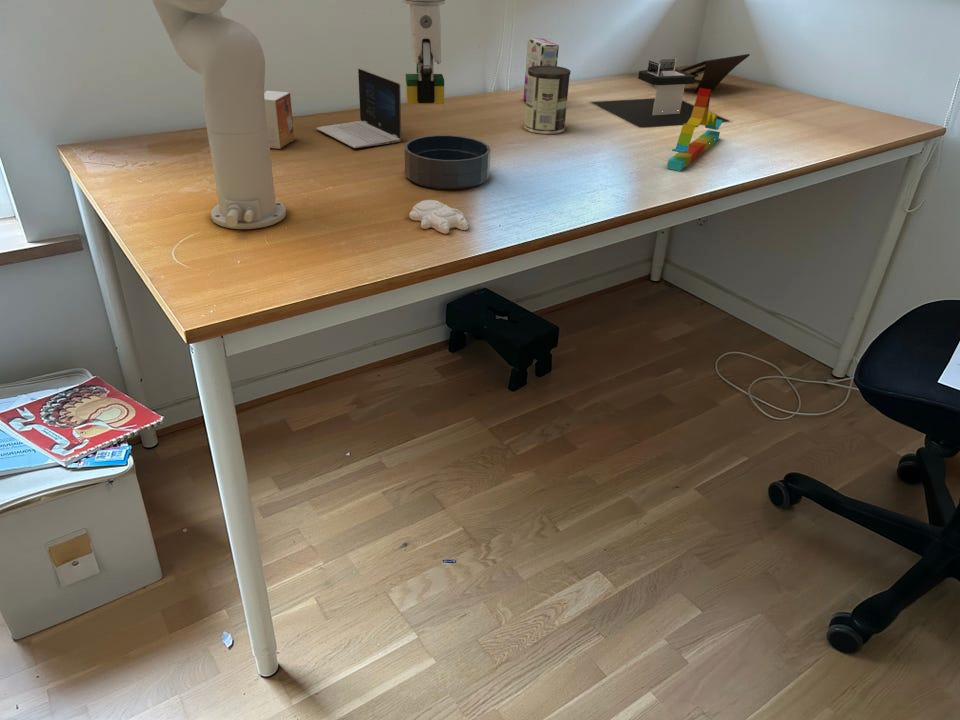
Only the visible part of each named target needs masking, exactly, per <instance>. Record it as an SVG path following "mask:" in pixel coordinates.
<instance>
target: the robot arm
mask: <svg viewBox="0 0 960 720" xmlns="http://www.w3.org/2000/svg"><path fill="white" fill-rule="evenodd" d="M151 1H152V3H153V5H154V7H155V9H156V12H157V14H158V16H159V19H160V21H161V23H162V26H163V27H164V29H165V32H166V34H167V36H168V37H169V40H170V42H171V45H172V46H173V48H174V50H175V51H176V53H177V55H178V56H179V58H180V59H181V61H182V62H183V63H184V64H185V65H186V66H187V67H189V68H190V69H191V70H192V71H194V72H196V73H197V74H199V75H202V79H203V93H202V95H203V98H202V99H203V101H202V104H203V114H204V121H205V126H206V132H207V139H208V146H209V152H210V157H211V163H212V164H211V165H212V170H213V175H214V176H213V177H214V183H215V189H216V196H217V202H218V204H217V205H215V206H214V207H212V209H211V211H210V218H211V221H212V222H213V223H215V224H216V225H218V226H220V227H222V228H227V229H233V230H253V229H261V228H262V229H263V228H266V227H270V226H273V225H275V224H277V223H278V224H279V223H280V222H281V221H282V220H284V219H285V218H286V216H287V209H286V208H287V207H286V206H285V205H284V203H282V202H281V201H279V200H276V191H275V182H274V173H273V165H272V156H271V148H270V146H269V137H268V129H267V121H266V112H265V99H264V93H265V81H266V59H265V53H264V49H263V47H262V44H261V43H260V40H259V38H258V37H257V36H256V35H255V34H254V33H253V32H252V31H251V30H250V29H249V28H248V27H247V26H245V25H244V24H242V23H240V22H239V21H236V20H233V19H231V18H228V17H225V16H223V13H222V11H221V9H222V8H223V7H224V6H225V4H226V3H227V1H228V0H151ZM402 3H403V4H407V5H409V21H410V23H409V24H410V25H409V26H410V41H411V43H410V44H411V50H412V57H413V60H414V63H415V64H416V65H415V66H416V67H415V68H416V69H415V70H416V74H418V79H419V80H417V101H418V103H434V101H435V82H434V77H433V74H434V63H437V65H440V64H441V63H442V40H441V37H442V36H441V35H442V34H441V33H442V31H441V30H442V29H441V26H442V25H441V8H440V7H441V6H442V5H444V4H446V0H402ZM421 74H422V75H421Z"/></svg>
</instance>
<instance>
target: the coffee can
mask: <svg viewBox="0 0 960 720" xmlns="http://www.w3.org/2000/svg"><path fill="white" fill-rule="evenodd" d="M571 73H572V71H571V69H569V68H568V67H563V66H558V65H557V66H546V65H545V66H543V65H541V66H532V67H529V68H528V83H527V99H526V101H525V113H524V125H523V127H524V129H525V130H526V131H528V132H531V133H534V134H541V135H555V134H561V133H563V132H564V131H565V130H566V128H565V127H566V115H567V104H568V97H569V87H570V76H571Z"/></svg>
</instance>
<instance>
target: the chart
mask: <svg viewBox="0 0 960 720" xmlns="http://www.w3.org/2000/svg"><path fill="white" fill-rule="evenodd" d="M711 93H712V89H704V88H699V91H698V92H697V95H696V99H695V102H694V104H693V106H694V108H693V111H692V115H691V118H690V119H689V120H688V122H687V123H686V124H682V126H681V130H680V134H679V136H678V140H677V142H676V146H675V148H671V151H672V152H676V154H675V155H673V156H672V157H671V158H669V159H668V161H667V163H666V165H667V167H666V168H667V169H669V170H673V171H678V172H681V171H682V170H683V169H685V168H686V167H687V166H688V165H690V164H691V163H692V162H693V161H695V159H697V158H698V157H700V155H702V154H703V153H705V151H706V150H708V149H709V148H711V147H712V146H713V145H714V144H715V143H717V141H719V138H720V134H721V132H720V131H718V130H719V128H721V125H722V123H723V122H724V121H723V120H718V119H717V116H718V114H717V113H713V112H711V111H709V109H710V102H711V101H710V100H711ZM699 126H704V128H705V129H708V130H706V131H705V132H704V133H702V134H701V135H700V136H698V137H697V138H695V139H694V140H692V138H693V135H694V131H695V128H699ZM714 139H715V140H714ZM691 141H692V142H691ZM709 143H710V144H709Z"/></svg>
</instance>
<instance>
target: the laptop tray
mask: <svg viewBox="0 0 960 720" xmlns="http://www.w3.org/2000/svg"><path fill="white" fill-rule="evenodd" d="M748 57H750V53H746V54H740V55H734V56H728V57H721V58H714V59H707V60H703V61H700V62H697V63H695V64H693V65H689V66H687V67H685V68H682V69H679V70H680V71H683V72H686V73H688V74H691V75H694V76H695V78H698V77H699V75H701V74H702V77H701V80H700V82H699V83H698V85H697V87H696V88H695V90H694V92H695V93H698V91H699V88H704V89H710V90H714V89H715V88H716V87H717V86H718V85H719V84H720V83H721V82H722V81H723V80H724V79H725V77H727V76H728V75H729V73H730V72H732V71H733V70H734V69H735V68H736V67H737V66H738V65H740V64H741V63H742V62H743V61H745V60H746V59H747V58H748Z"/></svg>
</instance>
